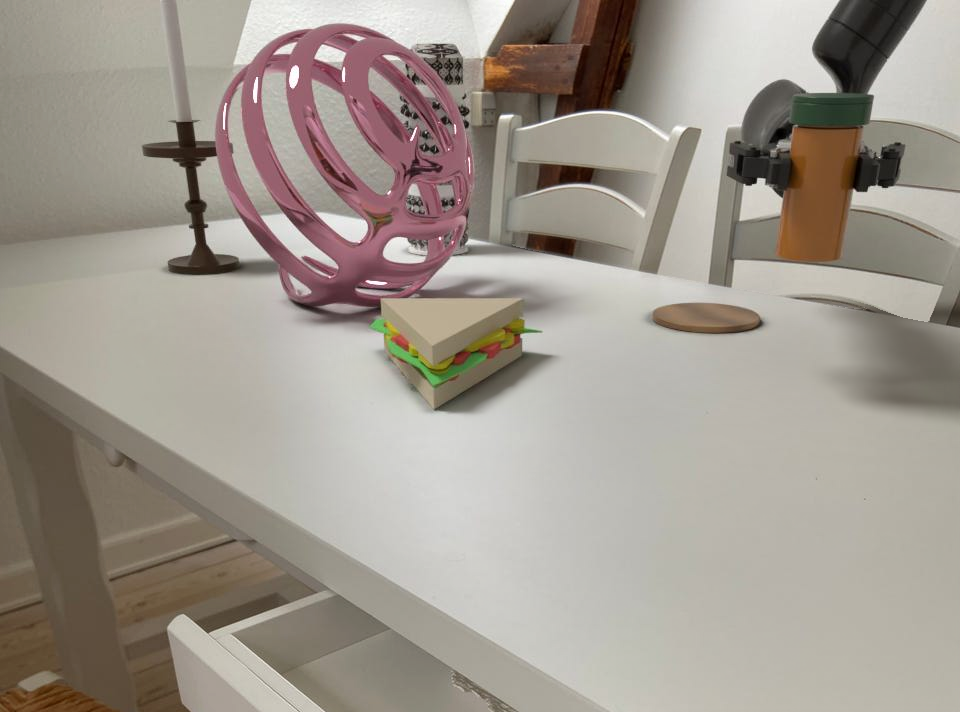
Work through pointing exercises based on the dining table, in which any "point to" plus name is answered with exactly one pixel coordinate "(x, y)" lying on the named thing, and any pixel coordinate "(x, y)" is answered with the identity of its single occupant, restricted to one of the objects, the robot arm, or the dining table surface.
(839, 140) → the jar
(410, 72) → the decorative candle
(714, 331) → the coaster
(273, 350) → the dining table surface
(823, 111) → the lid
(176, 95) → the candlestick
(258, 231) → the spiral basket
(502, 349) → the sandwich
